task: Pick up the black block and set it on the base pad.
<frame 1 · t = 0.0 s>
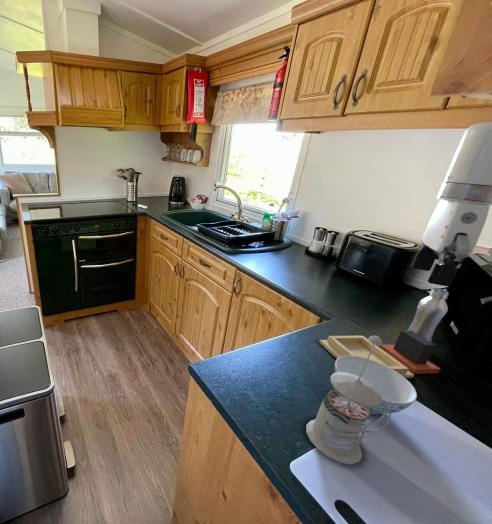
hand: (428, 276, 61), 32 cm above the countertop, tool pointing down, fingers open, 9 cm apart
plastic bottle: (412, 347, 92), on the countertop
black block: (406, 360, 85), on the countertop
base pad: (362, 358, 84), on the countertop
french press: (337, 442, 58), on the countertop
chinaware: (362, 403, 69), on the countertop
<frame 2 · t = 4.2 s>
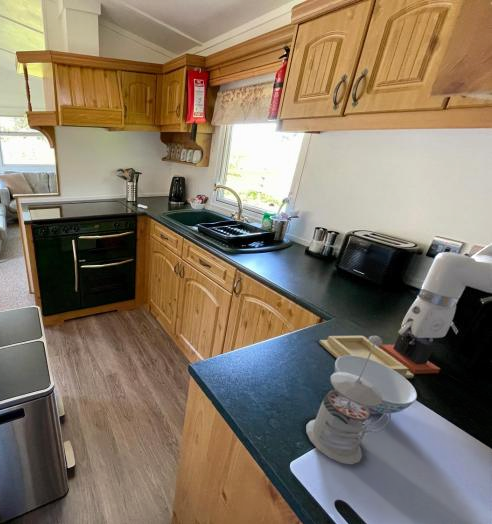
hand: (410, 352, 84), 3 cm above the countertop, tool pointing down, fingers closed on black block, 3 cm apart
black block: (406, 360, 85), on the countertop, touching gripper
everything else where it was.
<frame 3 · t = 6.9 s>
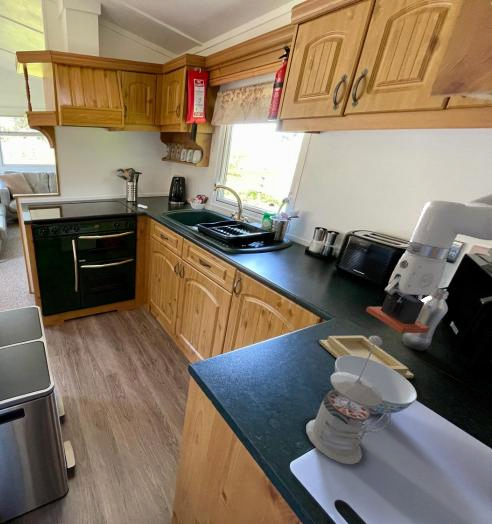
hand: (398, 313, 79), 16 cm above the countertop, tool pointing down, fingers closed on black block, 3 cm apart
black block: (394, 321, 80), point 13 cm above the countertop, touching gripper
everything else where it was.
when the fingers open (4 cm above the countertop, at t = 9.8 s): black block stays where it is, resting on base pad.
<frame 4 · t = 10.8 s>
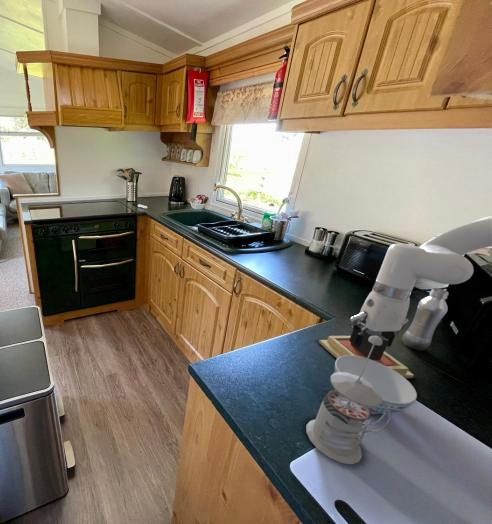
hand: (369, 344, 82), 5 cm above the countertop, tool pointing down, fingers open, 9 cm apart
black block: (363, 356, 84), point 1 cm above the countertop, touching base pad
everything else where it was.
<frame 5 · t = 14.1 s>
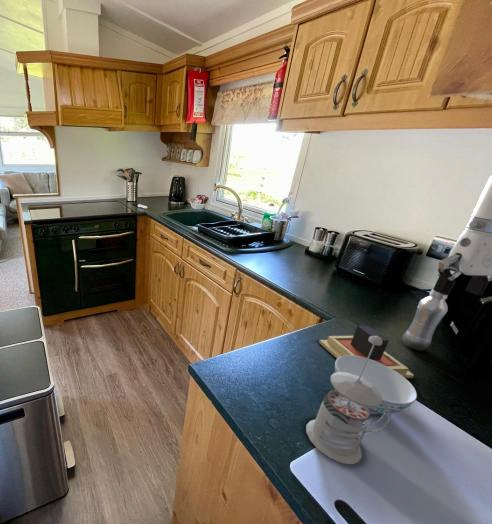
hand: (456, 293, 73), 24 cm above the countertop, tool pointing down, fingers open, 9 cm apart
nothing on the countertop moved.
at the end: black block 0.1 cm off-centre on the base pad, point 1.0 cm above the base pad's base; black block tilted 0°; the gripper is holding nothing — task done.
